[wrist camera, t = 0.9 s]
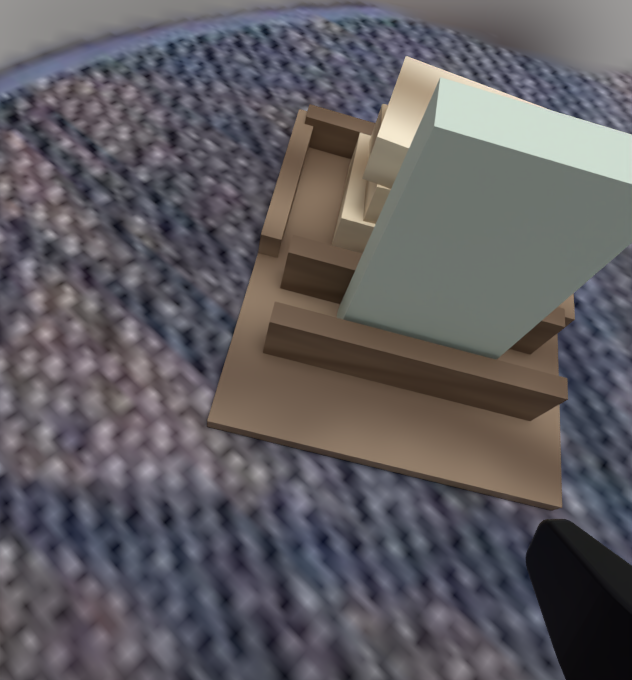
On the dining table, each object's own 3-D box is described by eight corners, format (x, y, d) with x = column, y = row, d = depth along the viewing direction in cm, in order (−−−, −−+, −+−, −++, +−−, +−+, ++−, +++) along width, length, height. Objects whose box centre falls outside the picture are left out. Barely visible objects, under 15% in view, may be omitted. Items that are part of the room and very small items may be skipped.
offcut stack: (495, 298, 28) (578, 208, 22) (329, 253, 28) (366, 147, 21) (498, 204, 31) (572, 102, 25) (350, 162, 31) (387, 46, 24)
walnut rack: (551, 510, 25) (606, 494, 21) (207, 426, 23) (207, 395, 20) (546, 213, 33) (584, 168, 30) (293, 140, 32) (303, 86, 29)
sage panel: (471, 381, 26) (682, 198, 14) (330, 344, 25) (434, 126, 14) (473, 344, 27) (673, 147, 15) (338, 309, 26) (440, 77, 15)
